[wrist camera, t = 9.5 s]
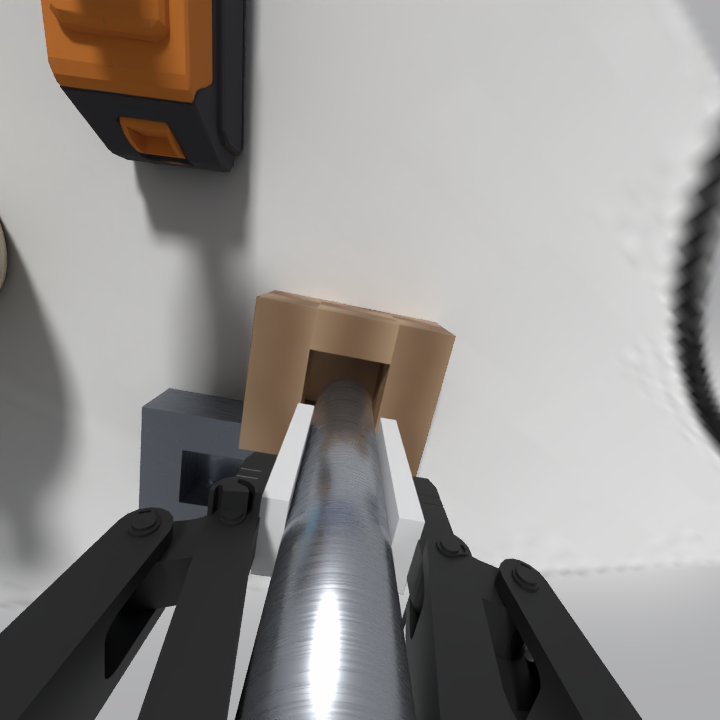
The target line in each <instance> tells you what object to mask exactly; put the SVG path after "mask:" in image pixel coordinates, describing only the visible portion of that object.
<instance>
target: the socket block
mask: <svg viewBox="0 0 720 720" xmlns="http://www.w3.org/2000/svg"><path fill="white" fill-rule="evenodd" d="M243 406H244V401H239V400H233V399H227V398H222V397H216V396H210V395H204V394H199V393H193V392H187V391H181V390H175V389H170V388H169V389H168V390H166V391H165V392H163V393H162V394H160V395H159V396H157V397H156V398H154V399H153V400H152V401H150V402H149V403H147V404H146V405H144V406H143V407H142V430H141V461H140V493H139V509H143V508H149V507H155V508H162V509H165V510H167V511H169V512H170V513H171V515H172V516H173V521H183V520H191V519H197V518H200V517H203V516H206V515H207V509H208V499H209V490H210V489H211V487H212V486H213V484H215V483H216V482H218V481H219V480H221V479H224V478H228V477H236V476H237V473H238V471H239V469H241V466H242V464H243V462H244V460H245V459H246V458H247V457H248V456H250V455H251V454H252V453H254V452H257V451H251V450H244V449H238V448H239V440H240V432H241V423H242V415H243ZM262 453H263V452H262ZM268 454H269V453H268ZM274 455H275V454H274Z"/></svg>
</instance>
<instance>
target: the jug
mask: <svg viewBox="0 0 720 720" xmlns="http://www.w3.org/2000/svg"><path fill="white" fill-rule="evenodd" d="M6 272H7V249H6V241H5V237H4V233H3V230H2V227H1V224H0V289H1V287H2V286H3V283H4V280H5V276H6Z"/></svg>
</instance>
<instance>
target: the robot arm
mask: <svg viewBox="0 0 720 720" xmlns="http://www.w3.org/2000/svg"><path fill="white" fill-rule="evenodd" d="M313 411H314V406H312V405H307V404H301V403H298V405H297V408H296V410H295V413H294V415H293V418H292V421H291V423H290V426H289V428H288V431H287V433H286V436H285V439H284V441H283V444H282V446H281V449H280V451H279V454H278V455H274V454H268V453H262V452H254V453H252V454H251V455H250V456H248V457H247V458H246V459H245V460H244V462H243V464H242V466H241V469H239V471H238V473H237V476H236V477H228V478H224V479H221V480H219V481H218V482H216V483H215V484H213V486H212V487H211V489H210V490H209V499H208V509H207V515H206V516H203V517H200V518H197V519H191V520H183V521H173V516H172V515H171V513H170V512H169V511H167V510H165V509H162V508H155V507H149V508H143V509H138V510H136V511H133V512H131V513H128V514H127V515H125V516H124V517H123V518H121V519H120V520H118V521H117V522H116V523H115V524H114V525H113V526H112V527H111V528H110V529H109V530H108V531H107V532H106V533H105V534H104V535H103V536H102V537H101V538H100V539H99V540H98V541H96V542H95V543H94V544H93V545H92V546H91V547H90V548H89V549H88V550H87V551H86V552H85V553H84V554H83V555H82V556H81V557H80V558H79V559H78V560H77V561H76V562H75V563H73V564H72V565H71V566H70V567H69V568H68V569H67V570H66V571H65V572H64V573H63V574H62V575H61V576H60V577H59V578H58V579H57V580H56V581H55V582H54V583H53V584H51V585H50V586H49V587H48V588H47V589H46V590H45V591H44V592H43V593H42V594H41V595H40V596H39V597H38V598H37V599H36V600H35V601H34V602H33V603H32V604H31V605H30V606H28V607H27V608H26V609H25V610H24V611H23V612H22V613H21V614H20V615H19V616H18V617H17V618H16V619H15V620H14V621H13V622H12V623H11V624H10V625H9V626H8V627H7V628H5V629H4V631H2V632H1V633H0V720H94V719H95V718H96V716H97V715H98V713H99V711H100V710H101V709H102V707H103V705H104V704H105V702H106V701H107V699H108V697H109V696H110V694H111V693H112V691H113V689H114V688H115V686H116V685H117V683H118V682H119V680H120V679H121V677H122V676H123V674H124V672H125V671H126V669H127V668H128V666H129V665H130V663H131V661H132V660H133V658H134V657H135V655H136V654H137V652H138V650H139V649H140V647H141V646H142V644H143V642H144V641H145V639H146V638H147V636H148V635H149V633H150V631H151V630H152V628H153V627H154V625H155V624H156V622H157V620H158V619H159V617H160V616H161V614H162V612H163V611H164V609H165V607H169V606H174V605H176V608H175V611H174V614H173V617H172V620H171V623H170V626H169V629H168V632H167V634H166V637H165V640H164V643H163V646H162V649H161V652H160V655H159V658H158V661H157V664H156V667H155V670H154V673H153V676H152V679H151V681H150V685H149V687H148V690H147V693H146V696H145V699H144V702H143V705H142V708H141V711H140V714H139V717H138V720H227V716H228V709H229V702H230V695H231V688H232V682H233V675H234V669H235V662H236V655H237V649H238V642H239V635H240V628H241V621H242V615H243V608H244V601H245V594H246V588H247V581H248V575H249V572H250V569H251V574H255V575H262V576H269V577H272V573H273V569H274V565H275V562H276V558H277V554H278V550H279V546H280V542H281V538H282V535H283V532H284V529H285V525H286V521H287V518H288V514H289V510H290V506H291V502H292V498H293V494H294V490H295V486H296V482H297V478H298V474H299V470H300V467H301V463H302V459H303V455H304V451H305V447H306V443H307V439H308V435H309V431H310V427H311V422H312V417H313ZM376 440H377V447H378V455H379V462H380V469H381V476H382V483H383V490H384V497H385V504H386V511H387V518H388V525H389V532H390V539H391V546H392V553H393V560H394V567H395V574H396V581H397V588H398V594H403V593H404V589H405V586H406V583H407V582H408V588H409V593H410V595H409V598H408V602H407V605H406V608H405V611H404V615H403V618H402V624H403V629H404V626H405V623H406V652H407V659H408V666H409V673H410V680H411V687H412V694H413V701H414V708H415V715H416V720H642V718H641V717H640V716H639V714H638V713H637V711H636V710H635V708H634V707H633V706H632V704H631V702H630V701H629V700H628V698H627V697H626V695H625V694H624V692H623V691H622V689H621V688H620V687H619V685H618V684H617V682H616V681H615V679H614V678H613V677H612V675H611V674H610V672H609V671H608V669H607V668H606V666H605V665H604V664H603V662H602V661H601V659H600V658H599V656H598V655H597V654H596V652H595V651H594V649H593V648H592V646H591V645H590V643H589V642H588V640H587V639H586V638H585V636H584V635H583V633H582V632H581V630H580V629H579V627H578V626H577V624H576V623H575V622H574V620H573V619H572V617H571V616H570V614H569V613H568V612H567V610H566V609H565V607H564V606H563V604H562V603H561V601H560V600H559V599H558V597H557V596H556V594H555V593H554V591H553V590H552V588H551V587H550V586H549V584H548V583H547V581H546V580H545V579H544V577H543V576H542V575H541V574H540V573H539V572H538V571H537V570H535V569H534V568H533V567H531V566H530V565H528V564H526V563H524V562H522V561H520V560H516V559H505V560H504V561H503V562H502V563H501V564H500V567H499V568H496V567H494V566H491V565H489V564H487V563H484V562H482V561H480V560H478V559H476V558H474V557H472V555H471V552H470V550H469V548H468V546H467V545H466V544H465V543H464V542H463V541H462V540H461V539H460V538H458V537H457V536H455V535H454V534H453V531H452V529H451V526H450V523H449V521H448V518H447V515H446V513H445V510H444V508H443V505H442V502H441V500H440V497H439V494H438V492H437V489H436V487H435V486H434V485H433V484H432V483H431V482H430V481H429V479H426V478H420V477H414V476H412V475H411V471H410V468H409V464H408V461H407V457H406V454H405V450H404V447H403V443H402V440H401V436H400V433H399V429H398V426H397V422H396V420H392V419H386V418H380V421H379V426H378V430H377V434H376ZM251 566H252V567H251Z"/></svg>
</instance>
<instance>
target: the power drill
mask: <svg viewBox="0 0 720 720" xmlns="http://www.w3.org/2000/svg"><path fill="white" fill-rule="evenodd" d="M41 4H42V13H43V21H44V29H45V37H46V45H47V53H48V62H49V64H50V67H51V69H52V72H53V74H54V76H55V78H56V80H57V82H58V83H59V84H60V87H61V89H62V90H63V91H64V92H65V94H66V95H67V96H68V98H69V99H70V100H71V101H72V103H73V104H74V105H75V107H76V108H77V109H78V111H79V112H80V113H81V114H82V116H83V117H84V118H85V120H86V121H87V122H88V123H89V125H90V126H91V127H92V129H93V130H94V131H95V132H96V134H97V135H98V136H99V138H100V139H101V140H102V142H103V143H104V144H105V145H106V147H107V148H108V149H109V150H110V151H111V152H112V153H113V154H116V155H118V156H120V157H123V158H125V159H127V160H134V161H142V162H150V163H158V164H166V165H174V166H182V167H190V168H197V169H205V170H213V171H221V172H230V171H231V169H232V167H233V165H234V157H235V155H240V154H241V152H242V150H243V134H244V72H245V9H246V0H41Z"/></svg>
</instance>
